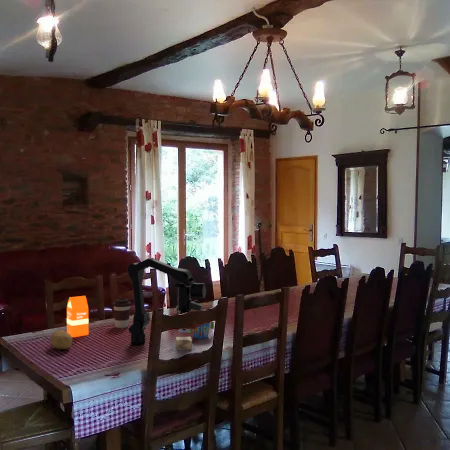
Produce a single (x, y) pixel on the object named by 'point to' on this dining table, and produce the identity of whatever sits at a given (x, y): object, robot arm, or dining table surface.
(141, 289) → the robot arm
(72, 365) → the dining table surface
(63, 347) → the potato
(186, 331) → the blue cube
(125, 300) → the coffee cup
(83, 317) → the orange juice
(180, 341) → the oak block
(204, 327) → the snack cup
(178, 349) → the build mat
